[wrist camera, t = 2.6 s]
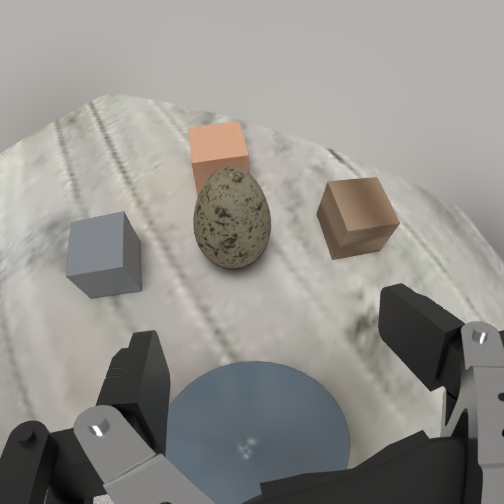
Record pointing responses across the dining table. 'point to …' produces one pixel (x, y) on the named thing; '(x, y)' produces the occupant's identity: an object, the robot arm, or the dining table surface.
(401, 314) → the robot arm
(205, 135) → the terracotta block
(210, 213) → the decorative egg
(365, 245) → the walnut block
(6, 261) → the dining table surface
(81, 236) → the charcoal block
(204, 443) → the round blue platter
